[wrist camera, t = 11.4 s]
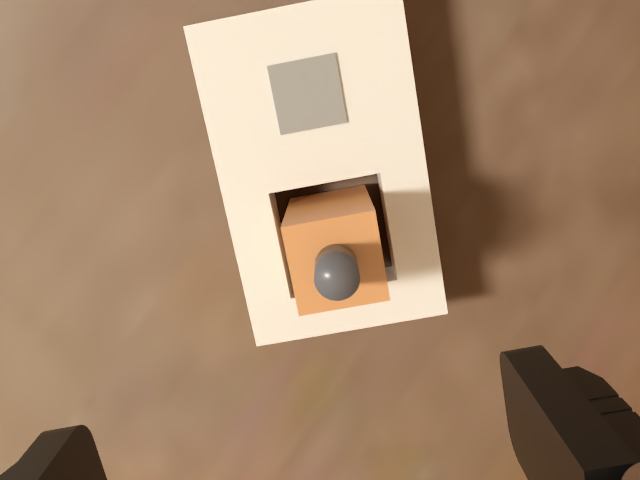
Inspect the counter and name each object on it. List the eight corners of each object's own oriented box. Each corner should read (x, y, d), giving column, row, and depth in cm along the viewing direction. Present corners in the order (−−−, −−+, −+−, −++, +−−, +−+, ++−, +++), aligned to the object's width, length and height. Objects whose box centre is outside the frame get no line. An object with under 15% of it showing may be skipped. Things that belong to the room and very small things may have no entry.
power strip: (195, 32, 29) (182, 26, 27) (393, -8, 29) (400, -18, 26) (261, 327, 33) (256, 347, 30) (438, 297, 32) (448, 314, 30)
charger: (290, 198, 31) (276, 238, 23) (364, 184, 31) (379, 220, 22) (304, 269, 32) (296, 334, 23) (376, 256, 32) (395, 317, 23)
